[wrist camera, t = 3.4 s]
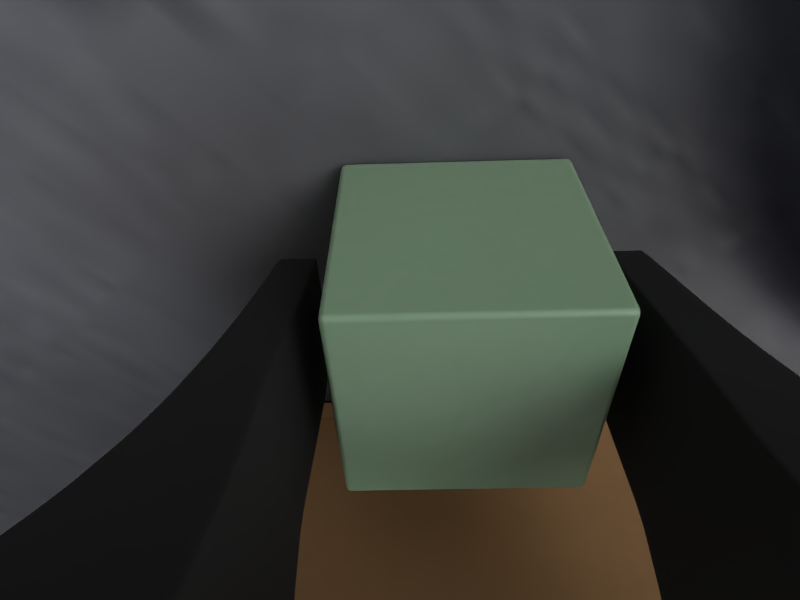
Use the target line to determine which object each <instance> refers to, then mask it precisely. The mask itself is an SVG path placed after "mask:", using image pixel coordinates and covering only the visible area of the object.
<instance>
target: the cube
mask: <svg viewBox="0 0 800 600" xmlns="http://www.w3.org/2000/svg"><path fill="white" fill-rule="evenodd" d="M639 317H640V308H639V306H638V304H637V302H636V299H635V297H634V295H633V293H632V291H631V289H630V287H629V284H628V282H627V280H626V278H625V276H624V274H623V272H622V269H621V267H620V265H619V263H618V261H617V259H616V257H615V254H614V252H613V250H612V248H611V246H610V244H609V242H608V239H607V237H606V235H605V233H604V231H603V229H602V227H601V224H600V222H599V220H598V218H597V216H596V214H595V212H594V209H593V207H592V205H591V203H590V201H589V199H588V197H587V194H586V192H585V190H584V188H583V186H582V184H581V182H580V179H579V177H578V175H577V173H576V171H575V169H574V167H573V164H572V162H571V160H569V159H539V160H502V161H465V162H429V163H392V164H356V165H344V166H343V167H342V169H341V174H340V181H339V187H338V193H337V200H336V206H335V213H334V219H333V226H332V232H331V239H330V245H329V251H328V258H327V264H326V271H325V277H324V284H323V290H322V296H321V303H320V309H319V316H318V322H319V328H320V334H321V340H322V346H323V352H324V358H325V364H326V370H327V376H328V382H329V388H330V394H331V400H332V406H333V412H334V418H335V424H336V430H337V436H338V442H339V448H340V454H341V460H342V466H343V472H344V478H345V484H346V487H347V489H348V490H350V491H371V490H432V489H492V488H552V487H581V486H584V485H585V482H586V479H587V475H588V472H589V469H590V466H591V463H592V460H593V457H594V454H595V451H596V448H597V445H598V442H599V439H600V436H601V433H602V430H603V427H604V424H605V421H606V418H607V415H608V411H609V408H610V405H611V402H612V399H613V396H614V393H615V390H616V387H617V384H618V381H619V378H620V375H621V372H622V369H623V366H624V363H625V360H626V357H627V354H628V351H629V348H630V344H631V341H632V338H633V335H634V332H635V329H636V326H637V323H638V320H639Z"/></svg>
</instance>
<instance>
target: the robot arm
mask: <svg viewBox="0 0 800 600" xmlns="http://www.w3.org/2000/svg"><path fill="white" fill-rule="evenodd" d="M613 252H614V254H615V257H616V259H617V261H618V263H619V265H620V267H621V269H622V272H623V274H624V276H625V278H626V280H627V282H628V284H629V287H630V289H631V291H632V293H633V295H634V297H635V299H636V302H637V304H638V306H639V308H640V317H639V320H638V323H637V326H636V329H635V332H634V335H633V338H632V341H631V344H630V348H629V351H628V354H627V357H626V360H625V363H624V366H623V369H622V372H621V375H620V378H619V381H618V384H617V387H616V390H615V393H614V396H613V399H612V402H611V405H610V408H609V411H608V415H607V418H606V422H607V425H608V428H609V430H610V433H611V436H612V438H613V441H614V444H615V447H616V449H617V452H618V455H619V458H620V460H621V463H622V466H623V469H624V471H625V474H626V477H627V480H628V482H629V485H630V488H631V491H632V493H633V496H634V499H635V502H636V505H637V508H638V511H639V514H640V517H641V521H642V524H643V527H644V531H645V535H646V539H647V543H648V547H649V551H650V555H651V559H652V563H653V567H654V571H655V575H656V579H657V583H658V587H659V591H660V596H661V600H800V377H799V376H798V375H797V374H795V373H794V372H793V371H791V370H790V369H788V368H787V367H786V366H784V365H783V364H782V363H780V362H779V361H777V360H776V359H775V358H773V357H772V356H771V355H769V354H768V353H767V352H765V351H764V350H762V349H761V348H760V347H759V346H757V345H756V344H755V343H753V342H752V341H751V340H749V339H748V338H747V337H746V336H744V335H743V334H742V333H740V332H739V331H738V330H737V329H735V328H734V327H733V326H732V325H730V324H729V323H728V322H727V321H726V320H724V319H723V318H722V317H721V316H719V315H718V314H717V313H716V312H714V311H713V310H712V309H711V308H710V307H708V306H707V305H706V304H705V303H704V302H702V301H701V300H700V299H699V298H698V297H697V296H695V295H694V294H693V293H692V292H691V291H689V290H688V289H687V288H686V287H685V286H684V285H682V284H681V283H680V282H679V281H678V280H677V279H675V278H674V277H673V276H672V275H671V274H670V273H668V272H667V271H666V270H665V269H664V268H662V267H661V266H660V265H659V264H658V263H656V262H655V261H654V260H653V259H652V258H650V257H649V256H648V255H646V254H645V253H644V252H643V251H613ZM321 296H322V292H321V286H320V280H319V273H318V267H317V260H316V258H314V259H281V260H280V261H279V262H278V263H277V264H276V265H275V267H274V268H273V269H272V271H271V272H270V274H269V275H268V276H267V278H266V279H265V281H264V282H263V283H262V285H261V286H260V287H259V289H258V290H257V292H256V293H255V294H254V296H253V297H252V298H251V300H250V301H249V302H248V304H247V305H246V306H245V308H244V309H243V310H242V312H241V313H240V314H239V315H238V317H237V318H236V319H235V320H234V322H233V323H232V324H231V325H230V327H229V328H228V329H227V330H226V332H225V333H224V334H223V335H222V337H221V338H220V339H219V340H218V342H217V343H216V344H215V345H214V346H213V348H212V349H211V350H210V351H209V352H208V353H207V354H206V356H205V357H204V358H203V359H202V360H201V361H200V362H199V363H198V365H197V366H196V367H195V368H194V369H193V370H192V371H191V372H190V373H189V375H188V376H187V377H186V378H185V379H184V380H183V381H182V382H181V383H180V385H179V386H178V387H177V388H176V389H175V390H174V391H173V392H172V393H171V394H170V395H169V396H168V397H167V398H166V399H165V400H164V401H163V402H162V403H161V404H160V405H159V406H158V407H157V408H156V409H155V410H154V411H153V412H152V413H151V414H150V415H149V416H148V417H147V418H146V419H145V420H143V421H142V422H141V423H140V424H139V425H138V426H137V427H136V428H135V429H134V430H133V431H132V432H131V433H130V434H129V435H127V436H126V437H125V438H124V439H123V440H122V441H121V442H119V443H118V444H117V445H116V446H115V447H114V448H112V449H111V450H110V451H109V452H108V453H107V454H105V455H104V456H103V457H102V458H101V459H99V460H98V461H97V462H96V463H95V464H93V465H92V466H91V467H90V468H89V469H87V470H86V471H85V472H84V473H83V474H81V475H80V476H79V477H78V478H77V479H75V480H74V481H73V482H72V483H71V484H69V485H68V486H67V487H65V488H64V489H63V490H62V491H60V492H59V493H58V494H56V495H55V496H54V497H52V498H51V499H50V500H48V501H47V502H46V503H44V504H43V505H42V506H40V507H39V508H38V509H36V510H35V511H34V512H32V513H31V514H30V515H28V516H27V517H26V518H24V519H23V520H21V521H20V522H19V523H17V524H16V525H14V526H13V527H12V528H10V529H9V530H7V531H6V532H5V533H3V534H2V535H0V600H294V598H295V586H296V575H297V564H298V554H299V543H300V532H301V526H302V519H303V512H304V506H305V500H306V495H307V490H308V485H309V480H310V474H311V469H312V464H313V459H314V454H315V448H316V443H317V438H318V433H319V428H320V422H321V417H322V412H323V406H324V401H325V395H326V385H327V370H326V364H325V358H324V352H323V346H322V340H321V334H320V328H319V322H318V316H319V309H320V303H321Z"/></svg>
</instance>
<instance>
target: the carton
mask: <svg viewBox="0 0 800 600" xmlns="http://www.w3.org/2000/svg"><path fill="white" fill-rule="evenodd" d="M294 600H661V596H660V591H659V587H658V583H657V579H656V575H655V571H654V567H653V563H652V559H651V555H650V551H649V547H648V543H647V539H646V535H645V531H644V527H643V524H642V521H641V517H640V514H639V511H638V508H637V505H636V502H635V499H634V496H633V493H632V491H631V488H630V485H629V482H628V480H627V477H626V474H625V471H624V469H623V466H622V463H621V460H620V458H619V455H618V452H617V449H616V447H615V444H614V441H613V438H612V436H611V433H610V430H609V428H608V425H607V422H606V421H605V424H604V427H603V430H602V433H601V436H600V439H599V442H598V445H597V448H596V451H595V454H594V457H593V460H592V463H591V466H590V469H589V472H588V475H587V479H586V482H585V485H584V486H581V487H552V488H492V489H432V490H371V491H350V490H348V489H347V487H346V484H345V478H344V472H343V466H342V460H341V454H340V448H339V442H338V436H337V430H336V424H335V418H334V412H333V406H332V403H324V406H323V412H322V417H321V422H320V428H319V433H318V438H317V443H316V448H315V454H314V459H313V464H312V469H311V474H310V480H309V485H308V490H307V495H306V500H305V506H304V512H303V519H302V526H301V532H300V543H299V554H298V564H297V575H296V586H295V598H294Z"/></svg>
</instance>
